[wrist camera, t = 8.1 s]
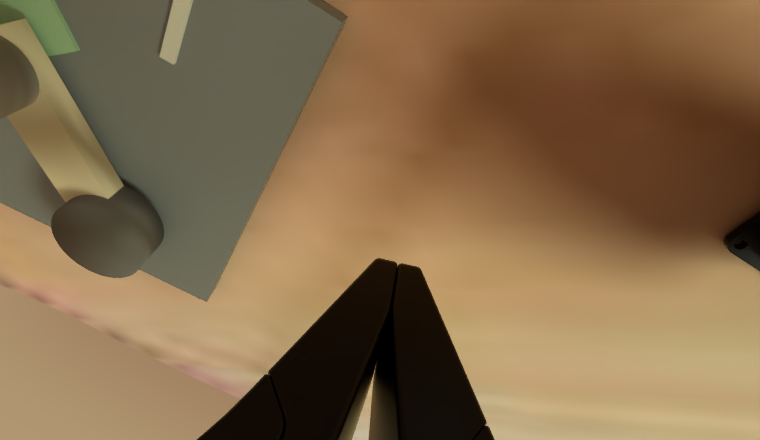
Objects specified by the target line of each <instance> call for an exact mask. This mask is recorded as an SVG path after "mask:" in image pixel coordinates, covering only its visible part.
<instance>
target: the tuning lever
mask: <svg viewBox="0 0 760 440" xmlns="http://www.w3.org/2000/svg"><path fill="white" fill-rule="evenodd" d="M6 116H7V118H8V119H9V121H10V122H11V124H12V125H13V126H14V128H15V129H16V131H17V132H18V134H19V135H20V137H21V138H22V140H23V141H24V143H25V144H26V145H27V147H28V148H29V150H30V151H31V153H32V154H33V156H34V157H35V159H36V160H37V162H38V163H39V165H40V166H41V167H42V169H43V170H44V172H45V173H46V175H47V176H48V178H49V179H50V181H51V182H52V184H53V185H54V186H55V188H56V189H57V191H58V192H59V194H60V195H61V197H62V198H63V200H64V201H65V204H64V205H62V206H61V207H60V208H59V209H57V210H56V211H55V213H54V214H53V216H52V219H51V228H52V232H53V235H54V237H55V239H56V241H57V243H58V244H59V246H60V247H61V248H62V250H63V251H64V252H65V253H66V254H67V255H68V256H69V257H70V258H71V259H73V260H74V261H75V262H76V263H78V264H79V265H81V266H82V267H84V268H86V269H88V270H90V271H92V272H94V273H97V274H99V275H103V276H107V277H113V278H122V277H127V276H130V275H133V274H134V273H135V272H137V271H138V269H139V268H140V267H141V266H142V265H143V264H144V263H145V261H146V260H147V259H148V258H149V257H150V256H151V255H152V253H153V252H154V251H155V250H156V249H157V248H158V247H159V246H160V244H161V243H162V241H163V238H164V227H163V223H162V220H161V218H160V216H159V214H158V213H157V211H156V210H155V209H154V207H153V206H152V205H151V204H150V203H149V202H148V201H147V200H146V199H145V198H144V197H142V196H141V195H140V194H138V193H137V192H135V191H134V190H132V189H130V188H128V187H126V186H124V185H123V183H122V182H121V180H120V178H119V177H118V175H117V173H116V172H115V170H114V168H113V166H112V165H111V163H110V161H109V160H108V158H107V156H106V154H105V153H104V151H103V149H102V148H101V146H100V144H99V143H98V141H97V139H96V137H95V136H94V134H93V132H92V131H91V129H90V127H89V126H88V124H87V122H86V120H85V119H84V117H83V115H82V114H81V112H80V110H79V108H78V107H77V105H76V103H75V102H74V100H73V98H72V97H71V95H70V93H69V91H68V90H67V88H66V86H65V85H64V83H63V81H62V80H61V78H60V76H59V74H58V73H57V71H56V69H55V68H54V66H53V64H52V62H51V61H50V59H49V57H48V56H47V54H46V52H45V51H44V49H43V47H42V45H41V44H40V42H39V40H38V39H37V37H36V35H35V34H34V32H33V30H32V28H31V27H30V25H29V23H28V22H27V20H26V18H24V19H20V20H16V21H11V22H7V23H3V24H0V119H2V118H4V117H6Z"/></svg>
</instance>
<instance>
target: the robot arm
mask: <svg viewBox="0 0 760 440" xmlns="http://www.w3.org/2000/svg"><path fill="white" fill-rule="evenodd" d="M741 240H742V241H741ZM738 241H741V242H740V243H738V244H735V243H736V242H738ZM724 245H725V246H726V247H727V249H728V250H729V251H730V252H731V253H733V254H734V255H736V256H737V257H739V258H740V259H742V260H744V261H745V262H747V263H748V264H750V265H751V266H753V267H754V268H756V269H757V270H759V271H760V212H759V213H757V214H756V215H755V216H753V217H752V218H750V219H749V220H747V221H746V222H745V223H743V224H742V225H740V226H739V227H738V228H736V229H735V230H733V231H732V232H731V233H729V234H728V235H727V236H726V237H725V239H724ZM375 366H376V367H375ZM374 370H375V373H374ZM373 374H374V381H373V390H372V404H371V417H370V430H369V440H494V437H493V435H492V433H491V430H490V428H489V427H488V426H485V425H486V423H487V422H486V419H485V417H484V415H483V412H482V410H481V408H480V405H479V403H478V401H477V398H476V396H475V394H474V392H473V389H472V387H471V385H470V382H469V380H468V378H467V375H466V373H465V371H464V368H463V366H462V364H461V361H460V359H459V357H458V354H457V352H456V350H455V347H454V345H453V343H452V340H451V338H450V336H449V333H448V331H447V329H446V327H445V324H444V322H443V320H442V317H441V315H440V313H439V310H438V308H437V306H436V303H435V301H434V299H433V296H432V294H431V292H430V289H429V287H428V285H427V282H426V280H425V278H424V275H423V273H422V271H421V269H420V268H419V267H416V266H411V265H407V264H403V263H401V264H399V265H398V267H397V263H396V262H394V261H389V260H385V259H381V258H377V259H375V260H374V261H373V262H372V263H371V264H370V265H369V266H368V267H367V269H366V270H365V271H364V272H363V273H362V274H361V275H360V276H359V277H358V278H357V279H356V280H355V281H354V282H353V283H352V284H351V285H350V286H349V287H348V288H347V289H346V291H345V292H344V293H343V294H342V295H341V296H340V297H339V298H338V299H337V300H336V301H335V302H334V303H333V304H332V305H331V306H330V307H329V308H328V309H327V310H326V311H325V313H324V314H323V315H322V316H321V317H320V318H319V319H318V320H317V321H316V322H315V323H314V324H313V325H312V326H311V327H310V328H309V329H308V330H307V331H306V332H305V333H304V335H303V336H302V337H301V338H300V339H299V340H298V341H297V342H296V343H295V344H294V345H293V346H292V347H291V348H290V349H289V350H288V351H287V352H286V353H285V354H284V355H283V357H282V358H281V359H280V360H279V361H278V362H277V363H276V364H275V365H274V366H273V367H272V368H271V369H270V370H269V372H268V374H266V375H264V376H263V377H262V378H261V379H260V380H259V381H258V382H257V383H256V385H255V386H254V387H253V388H252V389H251V390H250V391H249V392H248V393H247V394H246V395H245V396H244V397H243V398H242V399H241V400H240V401H239V402H238V403H237V404H236V405H235V406H234V407H233V408H232V409H230V410H229V412H227V413H226V414H225V415H224V416H223V417H222V418H221V419H220V420H219V421H218V422H216V423H215V424H214V425H213V426H212V427H211V428H210V429H208V430H207V431H206V432H205V433H204V434H203V435H202V436H200V437H199V438H198V439H197V440H352V437H353V434H354V431H355V428H356V425H357V423H358V420H359V417H360V414H361V411H362V408H363V405H364V402H365V399H366V396H367V393H368V390H369V387H370V384H371V381H372V377H373Z"/></svg>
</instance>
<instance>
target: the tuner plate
mask: <svg viewBox="0 0 760 440" xmlns="http://www.w3.org/2000/svg"><path fill="white" fill-rule="evenodd" d="M347 17H348V16H346V15H344V14H343V13H341V12H340V11H338V10H337V9H335V8H333V7H332V6H330V5H329V4H327V3H326V2H324V1H322V0H0V24H3V23H7V22H11V21H16V20H20V19H24V18H26V20H27V22H28V23H29V25H30V27H31V28H32V30H33V32H34V34H35V35H36V37H37V39H38V40H39V42H40V44H41V45H42V47H43V49H44V51H45V52H46V54H47V56H48V57H49V59H50V61H51V62H52V64H53V66H54V68H55V69H56V71H57V73H58V74H59V76H60V78H61V80H62V81H63V83H64V85H65V86H66V88H67V90H68V91H69V93H70V95H71V97H72V98H73V100H74V102H75V103H76V105H77V107H78V108H79V110H80V112H81V114H82V115H83V117H84V119H85V120H86V122H87V124H88V126H89V127H90V129H91V131H92V132H93V134H94V136H95V137H96V139H97V141H98V143H99V144H100V146H101V148H102V149H103V151H104V153H105V154H106V156H107V158H108V160H109V161H110V163H111V165H112V166H113V168H114V170H115V172H116V173H117V175H118V177H119V178H120V180H121V182H122V183H123V185H124V186H126V187H128V188H130V189H132V190H134V191H135V192H137V193H138V194H140V195H141V196H142V197H144V198H145V199H146V200H147V201H148V202H149V203H150V204H151V205H152V206H153V207H154V209H155V210H156V211H157V213H158V214H159V216H160V218H161V220H162V223H163V227H164V238H163V241H162V243H161V244H160V246H159V247H158V248H157V249H156V250H155V251H154V252H153V253H152V255H151V256H150V257H149V258H148V259H147V260H146V261H145V263H144V264H143V265H142V266H141V267H140V268H139V270H141V271H143V272H146V273H148V274H150V275H152V276H154V277H156V278H158V279H160V280H162V281H164V282H166V283H168V284H171V285H173V286H175V287H177V288H179V289H181V290H183V291H185V292H187V293H189V294H191V295H193V296H195V297H198V298H200V299H202V300H204V301H206V302H207V301H208V299H209V297H210V296H211V294H212V293H213V291H214V290H215V287H216V285H217V283H218V281H219V279H220V277H221V275H222V273H223V271H224V269H225V267H226V265H227V263H228V261H229V259H230V257H231V255H232V253H233V251H234V249H235V246H236V244H237V242H238V240H239V238H240V236H241V234H242V232H243V230H244V228H245V226H246V224H247V222H248V220H249V218H250V216H251V214H252V212H253V210H254V208H255V205H256V203H257V201H258V199H259V197H260V195H261V193H262V191H263V189H264V187H265V185H266V183H267V181H268V179H269V177H270V175H271V173H272V171H273V169H274V167H275V164H276V162H277V160H278V158H279V156H280V154H281V152H282V150H283V148H284V146H285V144H286V142H287V140H288V138H289V136H290V134H291V132H292V130H293V128H294V126H295V123H296V121H297V119H298V117H299V115H300V113H301V111H302V109H303V107H304V105H305V103H306V101H307V99H308V97H309V95H310V93H311V91H312V89H313V87H314V85H315V82H316V80H317V78H318V76H319V74H320V72H321V70H322V68H323V66H324V64H325V62H326V60H327V58H328V56H329V54H330V52H331V50H332V48H333V46H334V44H335V41H336V39H337V37H338V35H339V33H340V31H341V29H342V27H343V25H344V23H345V21H346V19H347ZM0 203H2V204H4V205H6V206H8V207H10V208H13V209H15V210H17V211H19V212H21V213H23V214H25V215H27V216H29V217H31V218H33V219H35V220H37V221H40V222H42V223H44V224H46V225H48V226H50V227H51V219H52V216H53V214H54V213H55V211H56V210H57V209H59V208H60V207H61V206H62V205H64V204H65V201H64V200H63V198H62V197H61V195H60V194H59V192H58V191H57V189H56V188H55V186H54V185H53V184H52V182H51V181H50V179H49V178H48V176H47V175H46V173H45V172H44V170H43V169H42V167H41V166H40V165H39V163H38V162H37V160H36V159H35V157H34V156H33V154H32V153H31V151H30V150H29V148H28V147H27V145H26V144H25V143H24V141H23V140H22V138H21V137H20V135H19V134H18V132H17V131H16V129H15V128H14V126H13V125H12V124H11V122H10V121H9V119H8V118H7V116H6V117H4V118H2V119H0Z"/></svg>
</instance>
